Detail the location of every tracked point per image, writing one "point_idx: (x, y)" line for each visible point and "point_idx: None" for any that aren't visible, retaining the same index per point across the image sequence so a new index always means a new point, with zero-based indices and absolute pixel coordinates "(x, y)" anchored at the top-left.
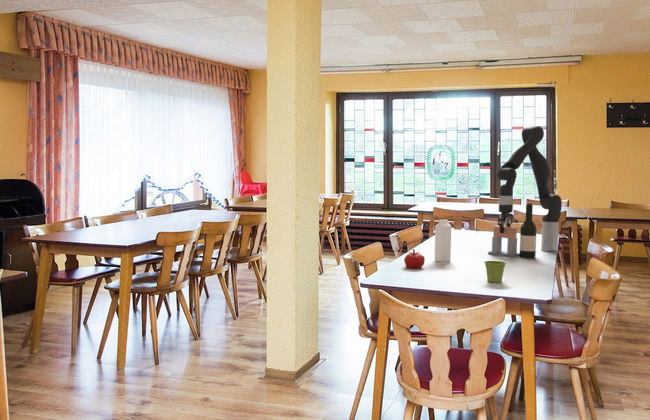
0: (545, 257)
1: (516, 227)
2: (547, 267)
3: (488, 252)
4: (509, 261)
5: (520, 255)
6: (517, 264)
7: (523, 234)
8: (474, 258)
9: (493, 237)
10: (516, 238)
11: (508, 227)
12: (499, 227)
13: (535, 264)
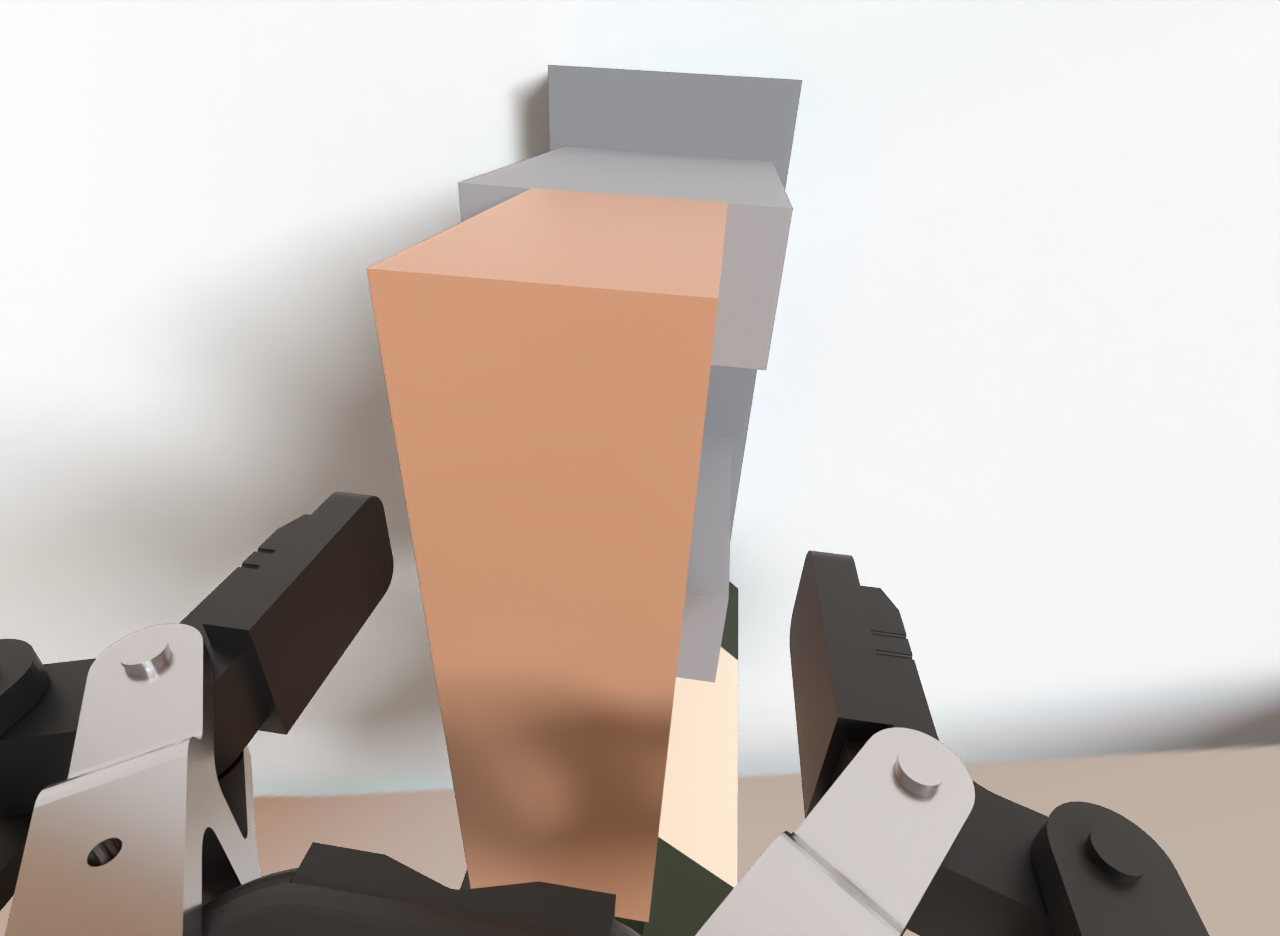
0: (787, 734)
1: (628, 918)
2: (286, 783)
3: (551, 72)
4: (265, 517)
5: None
6: (191, 609)
7: (465, 880)
8: (25, 44)
9: (462, 220)
10: (678, 671)
11: (460, 787)
12: (427, 522)
13: (328, 714)
